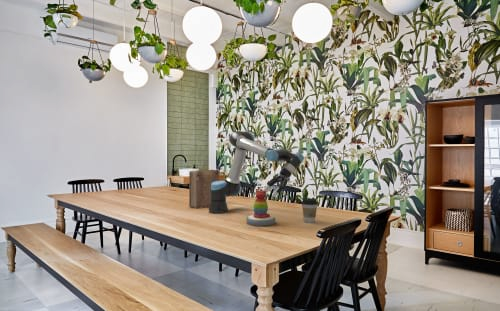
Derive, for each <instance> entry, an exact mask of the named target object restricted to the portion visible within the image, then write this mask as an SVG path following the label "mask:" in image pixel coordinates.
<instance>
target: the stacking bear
mask: <svg viewBox="0 0 500 311" xmlns="http://www.w3.org/2000/svg"><path fill="white" fill-rule="evenodd" d="M266 197H267V193H266V191H263V189H262V190H261V189H260V190H257V189H256V190H255V200H254V202H253V203H254V204H253V215H254V218H268V217H270V216H271V214H270V213H268V210H269V209H268V206H269V205H268V201H267V200H266Z"/></svg>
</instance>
